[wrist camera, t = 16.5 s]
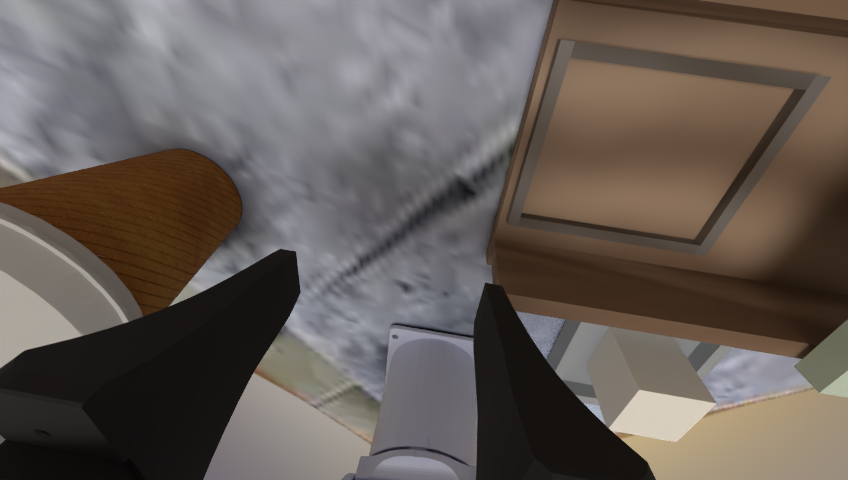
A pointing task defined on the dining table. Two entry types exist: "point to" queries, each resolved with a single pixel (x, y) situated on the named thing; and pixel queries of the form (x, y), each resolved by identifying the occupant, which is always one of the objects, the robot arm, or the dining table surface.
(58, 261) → the disposable coffee cup
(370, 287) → the dining table surface
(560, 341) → the tray
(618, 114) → the puzzle board
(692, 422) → the block
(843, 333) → the cover
